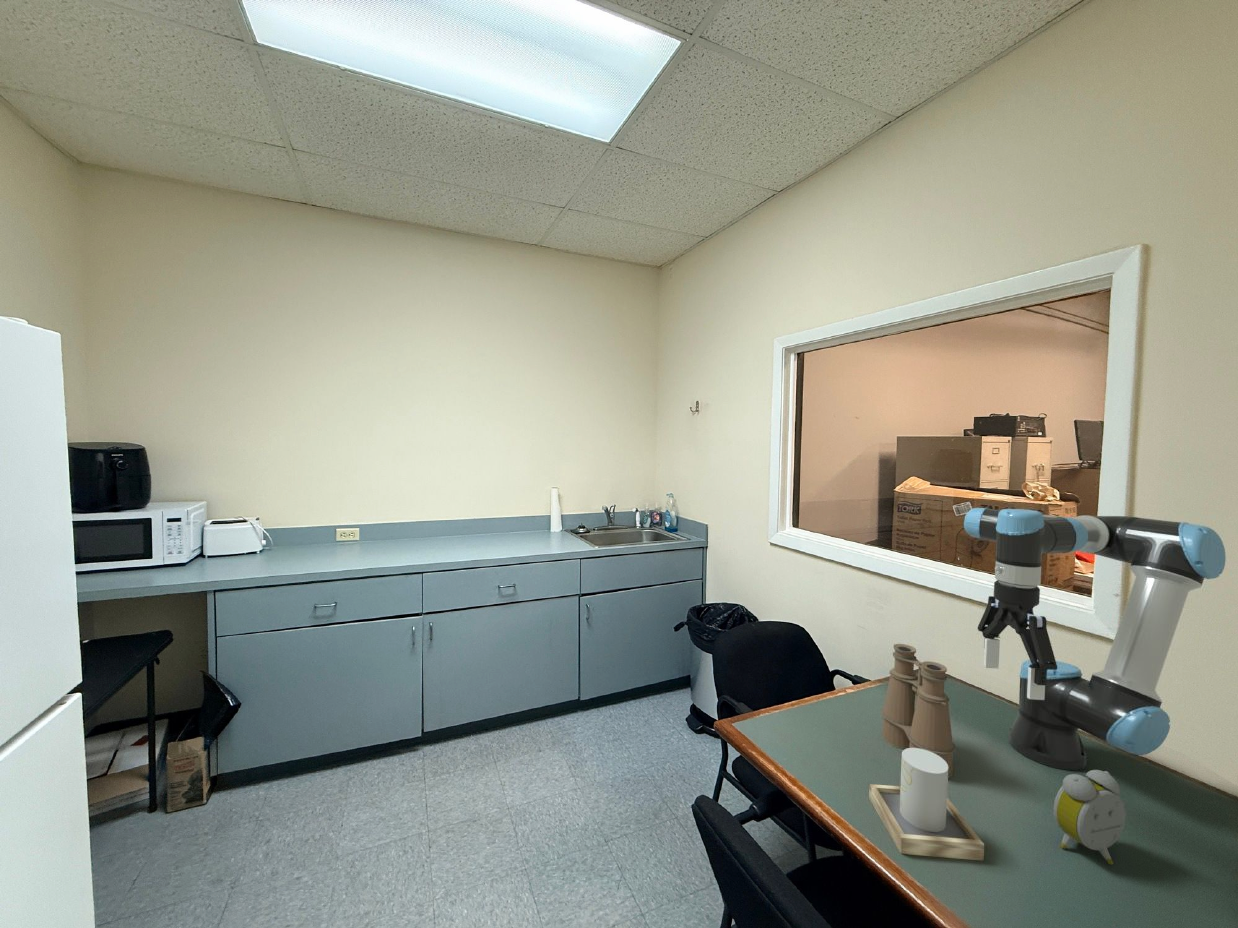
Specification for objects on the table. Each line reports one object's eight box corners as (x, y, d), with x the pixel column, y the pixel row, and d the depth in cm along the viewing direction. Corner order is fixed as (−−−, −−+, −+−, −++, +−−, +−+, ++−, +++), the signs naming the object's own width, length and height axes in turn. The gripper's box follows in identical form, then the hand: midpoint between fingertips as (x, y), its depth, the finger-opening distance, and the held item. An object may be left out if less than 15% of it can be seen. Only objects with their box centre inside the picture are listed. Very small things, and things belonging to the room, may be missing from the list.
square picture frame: (940, 803, 109) (940, 789, 109) (983, 860, 95) (984, 844, 94) (869, 797, 111) (869, 783, 111) (900, 853, 96) (901, 837, 96)
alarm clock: (1093, 832, 102) (1097, 761, 101) (1135, 860, 95) (1139, 784, 94) (1049, 842, 99) (1053, 769, 98) (1089, 871, 92) (1093, 793, 92)
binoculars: (964, 778, 118) (969, 674, 117) (925, 780, 117) (929, 676, 116) (906, 727, 138) (909, 639, 137) (872, 729, 137) (875, 640, 136)
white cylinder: (902, 796, 108) (904, 742, 108) (946, 813, 103) (949, 757, 103) (897, 819, 102) (899, 762, 101) (944, 838, 97) (947, 778, 96)
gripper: (962, 567, 117) (958, 655, 118) (1042, 601, 92) (1036, 712, 93) (996, 568, 116) (992, 657, 117) (1086, 603, 92) (1079, 715, 93)
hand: (1011, 682), depth 105 cm, fingers open, 13 cm apart
